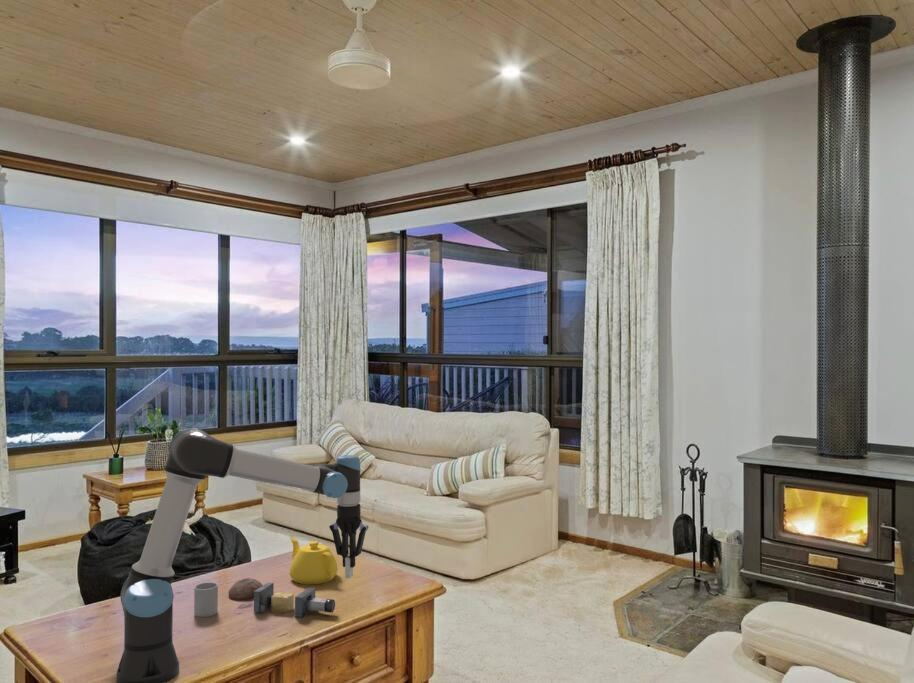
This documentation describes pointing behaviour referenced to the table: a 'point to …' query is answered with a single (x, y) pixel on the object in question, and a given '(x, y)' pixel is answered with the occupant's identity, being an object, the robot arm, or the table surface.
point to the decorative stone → (244, 589)
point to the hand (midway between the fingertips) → (349, 576)
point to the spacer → (282, 602)
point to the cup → (206, 599)
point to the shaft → (320, 604)
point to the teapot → (312, 563)
